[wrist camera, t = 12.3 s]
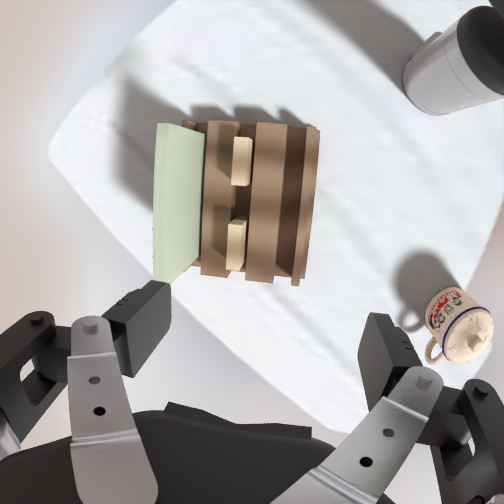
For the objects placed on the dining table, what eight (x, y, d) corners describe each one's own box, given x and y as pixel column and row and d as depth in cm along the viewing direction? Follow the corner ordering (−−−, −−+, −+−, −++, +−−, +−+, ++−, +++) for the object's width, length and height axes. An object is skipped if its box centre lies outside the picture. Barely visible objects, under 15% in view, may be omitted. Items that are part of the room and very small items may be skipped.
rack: (188, 124, 40) (176, 120, 36) (319, 132, 38) (322, 127, 34) (182, 261, 46) (171, 270, 41) (304, 275, 44) (305, 286, 39)
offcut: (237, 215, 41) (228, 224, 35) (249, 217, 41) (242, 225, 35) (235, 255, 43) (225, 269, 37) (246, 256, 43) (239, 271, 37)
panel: (201, 135, 39) (157, 123, 26) (209, 135, 39) (169, 122, 25) (195, 251, 43) (154, 287, 30) (203, 251, 43) (164, 289, 30)
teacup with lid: (448, 274, 41) (485, 304, 30) (477, 303, 41) (511, 335, 30) (400, 331, 44) (423, 374, 33) (432, 355, 45) (456, 397, 33)
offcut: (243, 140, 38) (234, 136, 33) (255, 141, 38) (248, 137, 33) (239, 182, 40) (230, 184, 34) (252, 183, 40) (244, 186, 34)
